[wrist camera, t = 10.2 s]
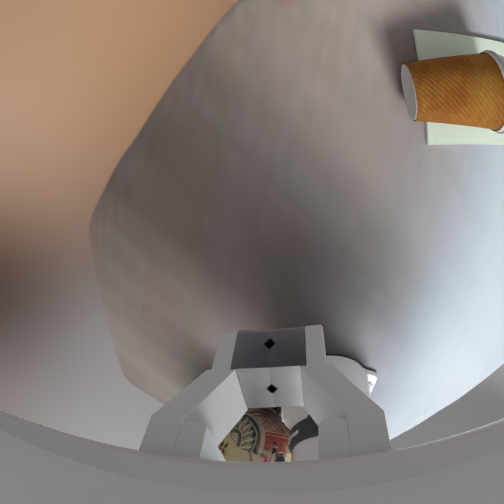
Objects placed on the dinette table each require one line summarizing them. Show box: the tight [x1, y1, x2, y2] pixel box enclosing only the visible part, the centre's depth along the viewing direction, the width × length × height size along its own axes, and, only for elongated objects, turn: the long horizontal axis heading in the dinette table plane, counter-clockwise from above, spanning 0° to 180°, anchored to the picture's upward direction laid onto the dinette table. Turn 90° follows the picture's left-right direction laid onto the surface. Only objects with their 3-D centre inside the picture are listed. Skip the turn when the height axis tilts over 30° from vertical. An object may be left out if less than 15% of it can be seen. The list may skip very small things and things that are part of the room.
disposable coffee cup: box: [401, 50, 504, 134], centre depth 24 cm, size 10×10×12 cm
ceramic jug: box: [218, 407, 292, 462], centre depth 46 cm, size 17×15×30 cm
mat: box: [413, 29, 504, 145], centre depth 27 cm, size 14×16×1 cm
